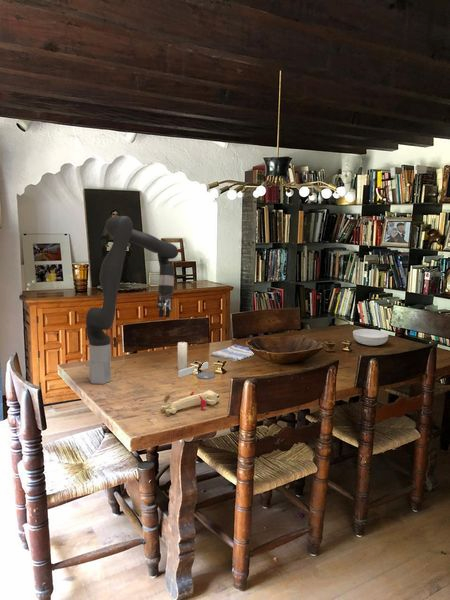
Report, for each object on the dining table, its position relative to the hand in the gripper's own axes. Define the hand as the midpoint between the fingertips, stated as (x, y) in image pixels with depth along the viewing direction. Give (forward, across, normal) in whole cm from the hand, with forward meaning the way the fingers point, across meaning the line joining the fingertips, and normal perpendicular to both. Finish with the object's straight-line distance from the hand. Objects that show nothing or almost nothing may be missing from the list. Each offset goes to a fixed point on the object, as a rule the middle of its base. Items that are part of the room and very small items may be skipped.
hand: (164, 317), depth 242 cm
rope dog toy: (+35, +42, +30) cm, 62 cm away
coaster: (+26, +6, +24) cm, 36 cm away
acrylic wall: (+26, +2, +17) cm, 31 cm away
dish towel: (+19, -34, +30) cm, 49 cm away
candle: (+25, -1, +10) cm, 27 cm away
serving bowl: (+11, -82, +102) cm, 132 cm away
